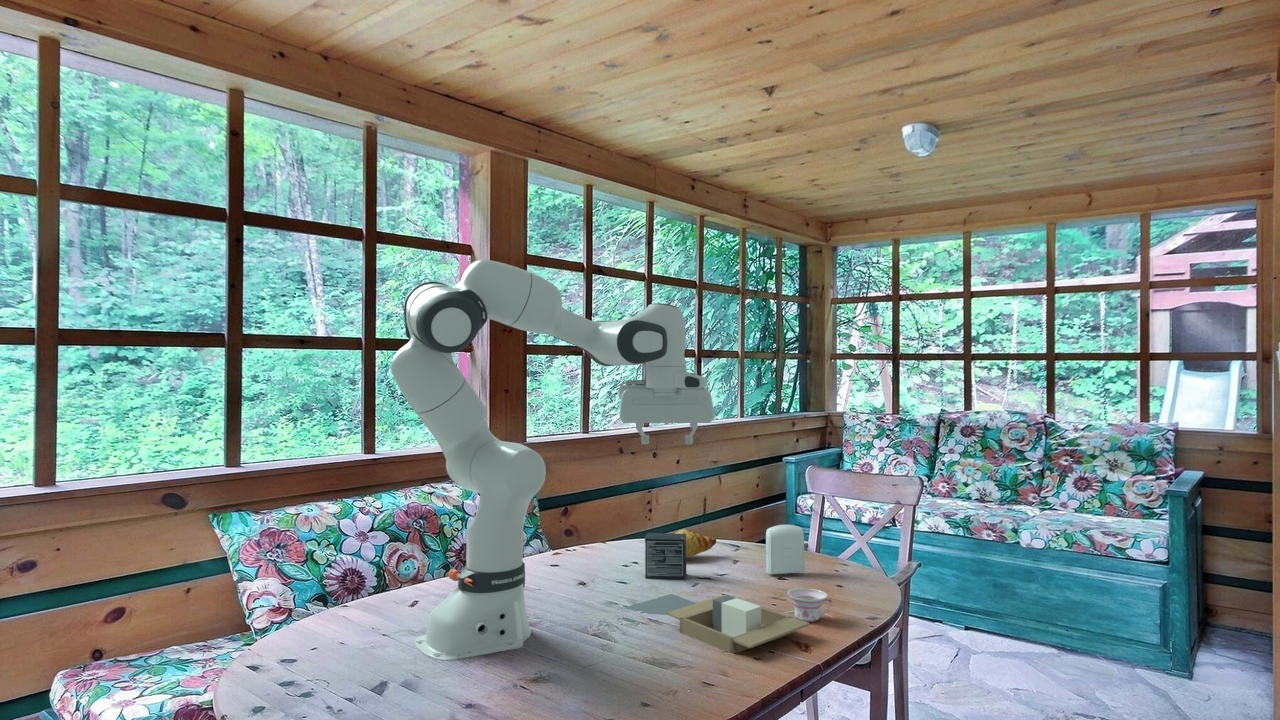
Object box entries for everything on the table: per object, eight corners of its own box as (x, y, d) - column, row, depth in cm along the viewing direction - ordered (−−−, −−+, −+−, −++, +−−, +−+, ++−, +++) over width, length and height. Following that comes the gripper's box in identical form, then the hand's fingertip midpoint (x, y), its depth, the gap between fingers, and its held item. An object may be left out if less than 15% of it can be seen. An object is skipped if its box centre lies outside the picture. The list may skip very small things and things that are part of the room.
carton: (750, 668, 131) (750, 646, 131) (666, 632, 148) (666, 612, 148) (809, 643, 142) (809, 623, 142) (725, 612, 160) (725, 594, 160)
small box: (686, 572, 190) (686, 532, 190) (686, 580, 183) (686, 538, 183) (646, 571, 191) (646, 531, 191) (644, 579, 184) (644, 537, 184)
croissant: (650, 572, 200) (655, 552, 196) (639, 545, 208) (643, 525, 204) (719, 561, 208) (725, 541, 203) (706, 536, 215) (711, 516, 211)
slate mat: (664, 626, 152) (664, 623, 152) (625, 609, 162) (625, 607, 162) (711, 611, 161) (711, 608, 161) (671, 596, 171) (671, 593, 171)
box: (745, 647, 140) (745, 611, 140) (712, 633, 147) (712, 599, 147) (761, 641, 143) (761, 606, 143) (727, 628, 150) (727, 595, 150)
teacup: (774, 628, 151) (774, 599, 151) (784, 609, 162) (783, 582, 162) (833, 636, 146) (834, 605, 146) (839, 616, 158) (839, 588, 158)
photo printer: (769, 575, 187) (769, 527, 187) (763, 570, 191) (763, 524, 191) (806, 573, 189) (806, 526, 189) (800, 568, 193) (800, 522, 193)
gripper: (615, 380, 154) (616, 445, 154) (712, 379, 150) (713, 446, 150) (621, 379, 160) (622, 441, 160) (713, 378, 156) (714, 442, 157)
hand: (667, 443), depth 155 cm, fingers open, 8 cm apart
